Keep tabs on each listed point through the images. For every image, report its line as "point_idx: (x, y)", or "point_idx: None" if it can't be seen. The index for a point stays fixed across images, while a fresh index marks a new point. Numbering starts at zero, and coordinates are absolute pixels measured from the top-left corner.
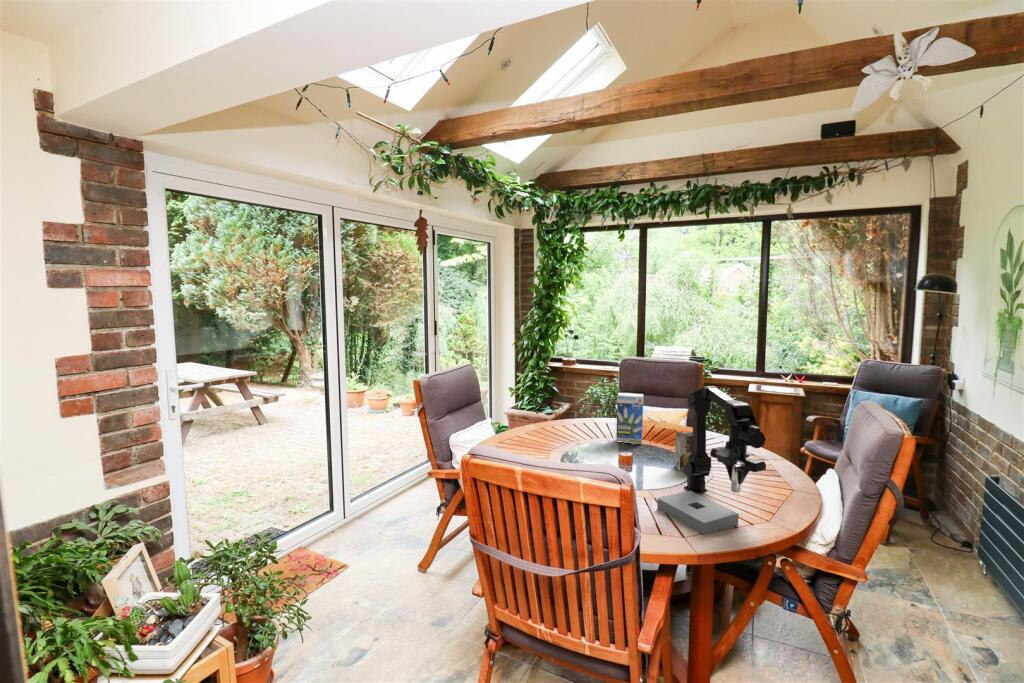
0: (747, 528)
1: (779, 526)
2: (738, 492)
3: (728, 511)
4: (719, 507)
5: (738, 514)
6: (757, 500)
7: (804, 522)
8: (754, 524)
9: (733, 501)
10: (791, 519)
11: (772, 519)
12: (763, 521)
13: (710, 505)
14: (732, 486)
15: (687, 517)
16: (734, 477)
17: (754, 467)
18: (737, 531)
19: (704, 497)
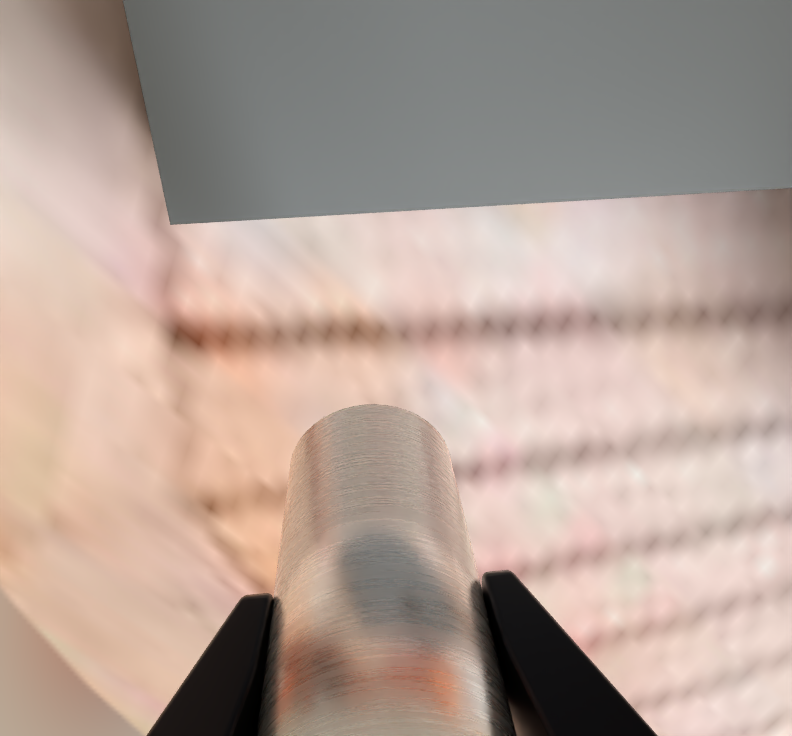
0: (97, 214)
1: (74, 511)
2: (291, 467)
3: (272, 138)
4: (434, 119)
5: (172, 218)
6: None
7: (99, 691)
8: (165, 351)
9: (620, 520)
10: (167, 656)
11: (209, 551)
12: (198, 466)
13: (552, 38)
14: (382, 470)
15: None
16: (340, 686)
17: None
18: (47, 31)
19: (782, 184)
